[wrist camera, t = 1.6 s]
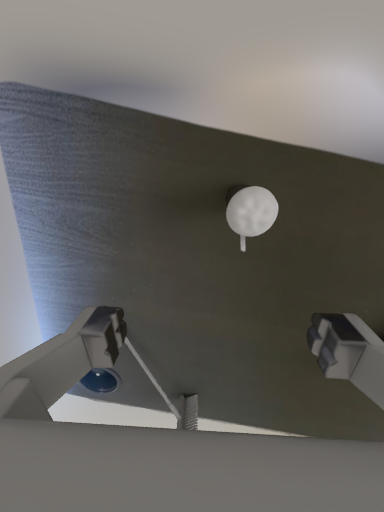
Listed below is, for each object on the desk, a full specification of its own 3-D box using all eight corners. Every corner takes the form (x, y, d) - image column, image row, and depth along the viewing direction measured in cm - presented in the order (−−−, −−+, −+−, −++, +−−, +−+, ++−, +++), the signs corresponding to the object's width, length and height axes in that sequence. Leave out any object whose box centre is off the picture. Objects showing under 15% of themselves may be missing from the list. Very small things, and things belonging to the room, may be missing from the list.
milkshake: (213, 215, 27) (218, 244, 18) (227, 173, 25) (240, 182, 16) (246, 225, 27) (266, 257, 18) (262, 184, 25) (295, 199, 16)
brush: (129, 287, 39) (108, 312, 29) (198, 394, 44) (197, 443, 35) (113, 296, 39) (86, 323, 30) (182, 400, 44) (178, 450, 35)
